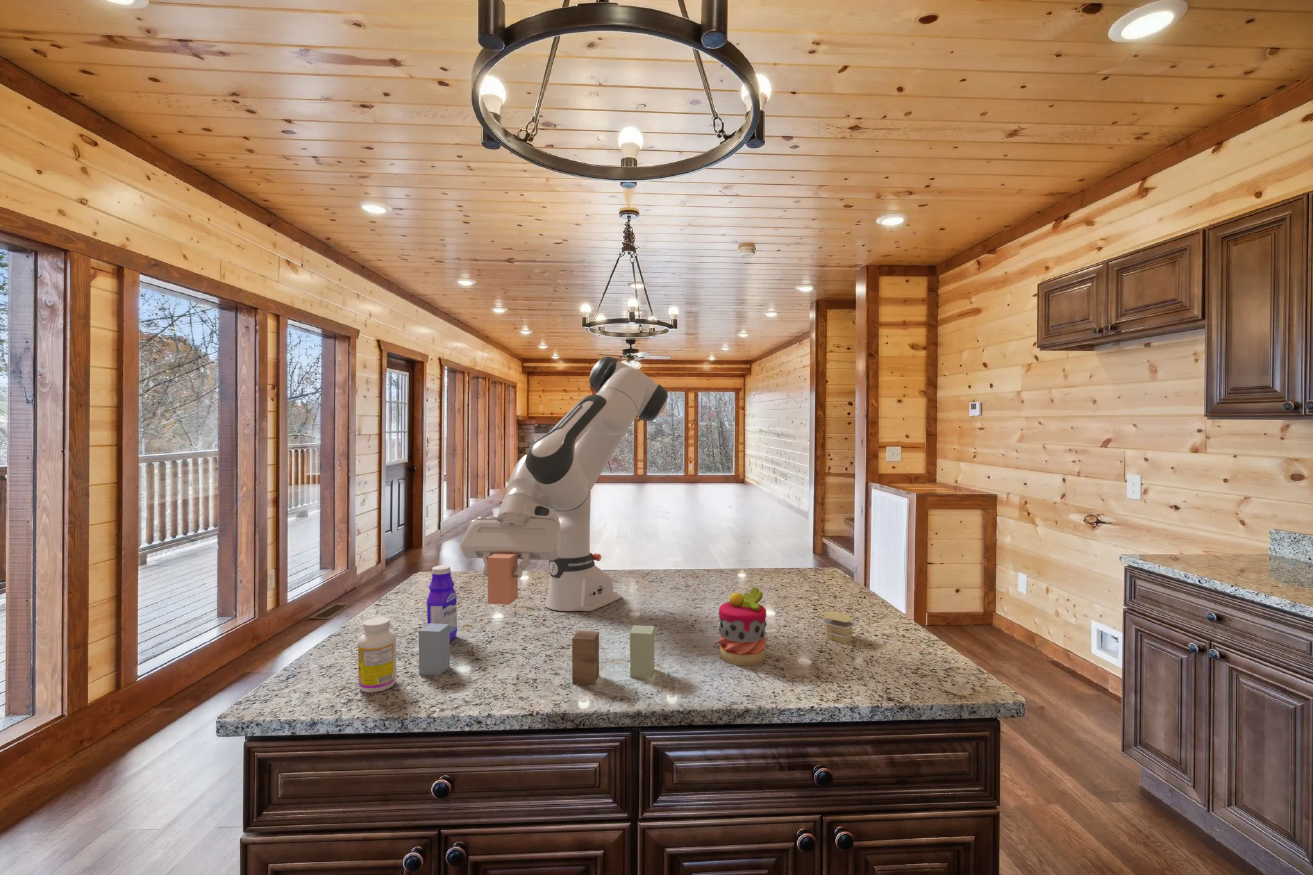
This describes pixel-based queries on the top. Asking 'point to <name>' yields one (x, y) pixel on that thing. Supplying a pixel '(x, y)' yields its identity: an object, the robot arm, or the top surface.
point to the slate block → (434, 649)
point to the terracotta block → (502, 578)
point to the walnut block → (585, 657)
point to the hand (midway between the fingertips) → (501, 575)
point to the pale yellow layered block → (838, 627)
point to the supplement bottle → (377, 656)
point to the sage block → (642, 651)
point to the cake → (743, 629)
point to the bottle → (442, 599)
